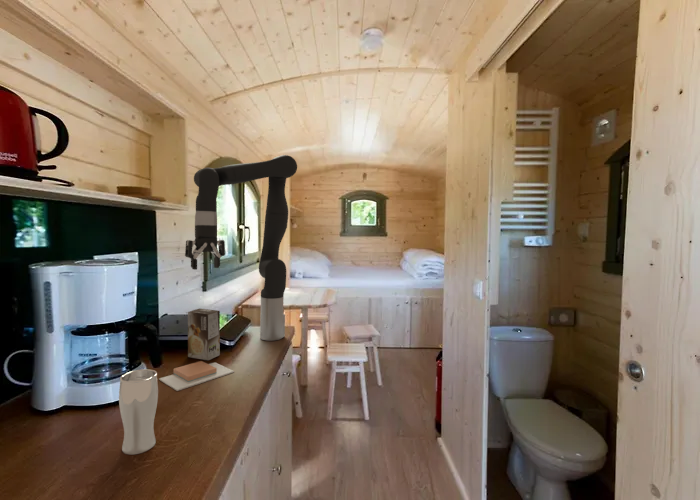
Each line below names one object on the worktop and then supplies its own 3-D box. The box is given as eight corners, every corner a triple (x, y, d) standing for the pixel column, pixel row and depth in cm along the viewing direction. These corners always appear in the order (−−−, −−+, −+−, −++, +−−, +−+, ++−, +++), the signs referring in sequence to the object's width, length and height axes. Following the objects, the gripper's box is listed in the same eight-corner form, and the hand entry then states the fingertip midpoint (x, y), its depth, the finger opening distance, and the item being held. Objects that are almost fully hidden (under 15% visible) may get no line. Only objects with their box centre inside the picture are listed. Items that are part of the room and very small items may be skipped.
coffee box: (220, 355, 130) (221, 310, 129) (208, 361, 124) (208, 314, 123) (199, 351, 133) (200, 307, 132) (186, 357, 127) (186, 311, 126)
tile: (201, 360, 118) (216, 368, 113) (201, 365, 119) (216, 372, 113) (173, 368, 111) (188, 376, 106) (173, 373, 112) (188, 381, 106)
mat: (215, 363, 122) (215, 362, 122) (234, 372, 115) (234, 371, 115) (159, 379, 108) (159, 378, 108) (177, 391, 101) (177, 389, 101)
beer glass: (149, 432, 81) (149, 366, 80) (164, 445, 76) (163, 375, 75) (114, 446, 75) (113, 375, 74) (127, 460, 71) (126, 385, 70)
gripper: (218, 224, 140) (217, 266, 141) (181, 223, 129) (181, 269, 130) (229, 224, 135) (228, 268, 136) (192, 223, 124) (192, 271, 125)
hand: (205, 268), depth 133 cm, fingers open, 8 cm apart
